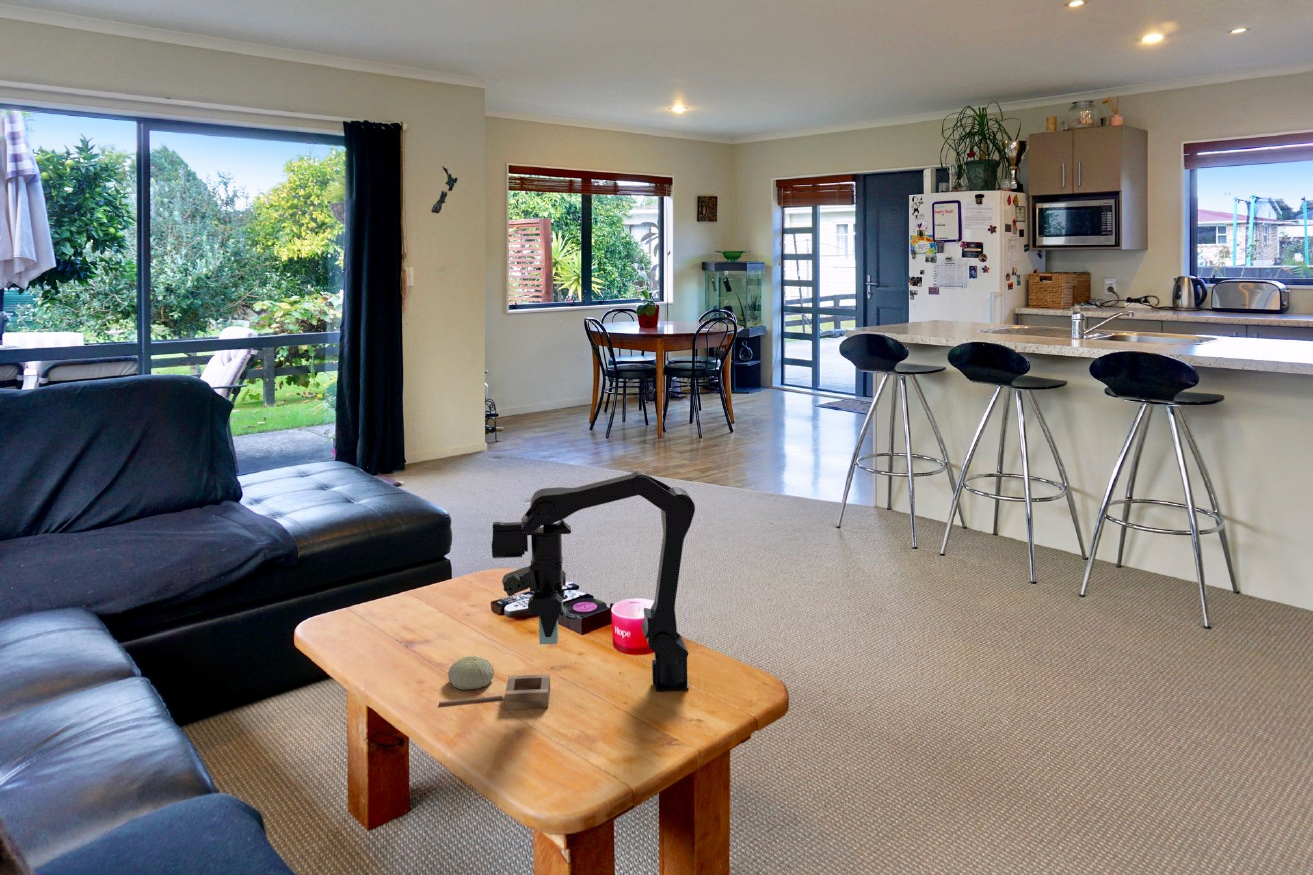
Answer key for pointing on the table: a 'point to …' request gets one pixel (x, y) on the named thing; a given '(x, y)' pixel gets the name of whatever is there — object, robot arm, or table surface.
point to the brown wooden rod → (470, 700)
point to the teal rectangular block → (548, 640)
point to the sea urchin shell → (471, 673)
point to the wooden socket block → (527, 692)
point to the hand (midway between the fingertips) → (548, 633)
